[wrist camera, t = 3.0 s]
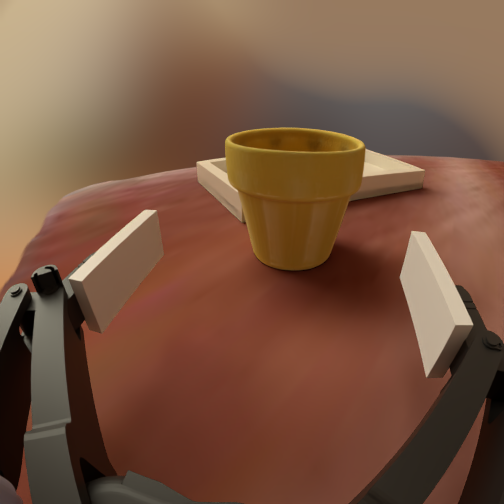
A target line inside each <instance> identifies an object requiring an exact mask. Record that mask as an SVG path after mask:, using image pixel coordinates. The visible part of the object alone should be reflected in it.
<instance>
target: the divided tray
mask: <svg viewBox="0 0 504 504" xmlns="http://www.w3.org/2000/svg"><path fill="white" fill-rule="evenodd" d="M197 175H198V182H199V183H200V184H201V185H202V186H203V187H204V188H205V189H207V190H208V191H209V192H210V193H211V194H212V195H213V196H214V197H215V198H216V199H217V200H218V201H219V202H221V203H222V204H223V205H224V206H225V207H226V208H227V209H228V210H229V211H230V212H231V213H232V214H233V215H234V216H236V217H237V218H238V219H239V220H240V221H241V222H242V223H243V222H246V220H245V216H244V212H243V209H242V205H241V201H240V198H239V194H238V190H237V189H235V188H234V187H233V186H232V185H231V184H230V183H229V180H228V175H227V167H226V158H220V159H213V160H206V161H200V162H197ZM424 175H425V170H423V169H420V168H418V167H415V166H413V165H410V164H407V163H405V162H402V161H399V160H396V159H394V158H391V157H388V156H385V155H382V154H379V153H376V152H373V151H370V150H367V149H365V162H364V171H363V177H362V183H361V187H360V189H359V190H358V191H357V192H356V193H355V194H353V195H351V197H350V200H349V201H353V200H358V199H363V198H369V197H374V196H380V195H386V194H391V193H397V192H403V191H409V190H415V189H421V188H422V187H423V181H424Z"/></svg>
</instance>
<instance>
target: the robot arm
mask: <svg viewBox="0 0 504 504" xmlns="http://www.w3.org/2000/svg"><path fill="white" fill-rule="evenodd" d="M163 255H164V251H163V246H162V240H161V234H160V228H159V222H158V215H157V210H144V211H143V212H142V213H140V214H139V215H138V216H137V217H136V218H134V219H133V220H132V221H131V222H130V223H129V224H127V225H126V226H125V227H124V228H123V229H122V230H120V231H119V232H118V233H117V234H116V235H115V236H114V237H112V238H111V239H110V240H109V241H108V242H107V243H106V244H105V245H104V246H102V247H101V248H100V249H99V250H98V251H96V252H95V253H93V254H91V255H89V256H88V257H87V258H86V259H85V260H84V261H83V263H81V264H80V265H78V268H75V269H74V270H73V271H72V272H71V273H70V274H69V275H68V276H67V277H66V278H65V279H64V280H63V281H62V280H61V277H60V274H59V272H58V269H57V267H56V266H55V265H46V266H43V267H41V268H39V269H37V270H36V271H35V272H34V273H33V274H32V276H31V279H32V281H33V284H34V286H35V288H36V291H37V292H31V293H30V291H29V289H28V286H27V285H26V284H24V283H20V284H16V285H15V286H12V287H11V288H10V289H9V290H8V291H7V292H6V294H5V296H4V298H3V300H2V301H1V303H0V504H23V501H22V499H21V498H20V497H19V496H18V495H16V490H17V486H18V482H19V478H20V473H21V465H22V457H23V448H24V450H25V459H26V468H27V475H28V481H29V487H30V493H31V498H32V503H33V504H242V503H237V502H195V501H192V500H190V499H188V498H186V497H184V496H183V495H181V494H179V493H177V492H176V491H174V490H172V489H171V488H169V487H167V486H166V485H164V484H162V483H161V482H158V481H155V480H153V479H150V478H147V477H144V476H142V475H139V474H137V473H134V472H131V471H129V470H128V472H127V474H126V476H117V474H116V472H115V470H114V468H113V467H112V465H111V463H110V462H109V459H108V457H107V454H106V450H105V446H104V443H103V439H102V435H101V431H100V427H99V423H98V418H97V414H96V409H95V404H94V399H93V394H92V389H91V383H90V377H89V371H88V365H87V358H86V350H85V342H84V333H83V329H82V327H81V324H82V323H83V321H84V320H85V321H86V323H87V325H88V328H89V330H92V331H95V332H99V333H103V332H104V331H105V329H106V328H107V327H108V325H109V324H110V323H111V321H112V320H113V319H114V317H115V316H116V315H117V313H118V312H119V311H120V309H121V308H122V307H123V305H124V304H125V303H126V302H127V300H128V299H129V298H130V296H131V295H132V294H133V293H134V291H135V290H136V289H137V287H138V286H139V285H140V284H141V282H142V281H143V280H144V279H145V277H146V276H147V275H148V274H149V272H150V271H151V270H152V269H153V267H154V266H155V265H156V264H157V263H158V261H159V260H160V259H161V258H162V256H163ZM400 280H401V283H402V286H403V290H404V293H405V296H406V299H407V303H408V306H409V310H410V313H411V317H412V320H413V324H414V328H415V332H416V335H417V339H418V343H419V347H420V352H421V356H422V360H423V365H424V369H425V374H426V378H441V377H444V375H445V374H446V372H447V370H448V369H449V367H450V371H451V375H452V376H451V377H450V379H449V380H448V382H447V383H446V385H445V386H444V388H443V389H442V390H441V392H440V395H439V396H438V398H437V399H436V401H435V402H434V404H433V405H432V407H431V408H430V410H429V411H428V412H427V414H426V415H425V417H424V418H423V419H422V421H421V422H420V424H419V425H418V426H417V428H416V429H415V430H414V432H413V433H412V434H411V436H410V437H409V438H408V439H407V441H406V442H405V443H404V444H403V446H402V447H401V448H400V449H399V451H398V452H397V453H396V454H395V455H394V456H393V458H392V459H391V460H390V461H389V462H388V463H387V465H386V466H385V467H384V468H383V469H382V470H381V471H380V472H379V473H378V475H377V476H376V477H375V478H374V479H373V480H372V481H371V482H370V483H369V484H368V485H367V486H366V487H365V488H364V489H363V490H362V491H361V492H360V493H359V494H358V495H357V496H356V497H355V498H354V499H353V500H352V501H351V502H350V503H349V504H423V503H424V501H425V500H426V499H427V497H428V496H429V495H430V493H431V492H432V490H433V489H434V488H435V486H436V485H437V483H438V482H439V480H440V479H441V477H442V476H443V475H444V473H445V471H446V470H447V468H448V467H449V465H450V464H451V462H452V460H453V459H454V457H455V456H456V454H457V452H458V451H459V449H460V447H461V445H462V444H463V442H464V440H465V438H466V436H467V435H468V433H469V431H470V429H471V427H472V425H473V423H474V421H475V419H476V417H477V415H478V413H479V411H480V409H481V407H482V405H483V403H484V400H485V398H487V399H486V405H485V411H484V416H483V421H482V426H481V430H480V435H479V439H478V443H477V447H476V451H475V454H474V458H473V461H472V465H471V468H470V471H469V474H468V477H467V481H466V483H465V486H464V489H463V492H462V495H461V497H460V500H459V503H458V504H504V344H503V341H502V340H501V339H500V337H499V336H498V335H496V334H495V333H493V332H491V331H488V330H487V329H486V327H485V325H484V323H483V321H482V319H481V316H480V314H479V312H478V310H476V306H475V304H474V303H473V300H472V298H471V296H470V295H469V293H468V292H467V291H466V290H465V289H464V288H463V287H462V286H459V285H454V283H453V281H452V279H451V277H450V275H449V273H448V272H447V270H446V268H445V266H444V264H443V262H442V260H441V259H440V257H439V255H438V253H437V252H436V250H435V248H434V246H433V245H432V243H431V241H430V240H429V238H428V236H427V235H426V233H425V232H417V231H412V232H411V236H410V240H409V244H408V248H407V252H406V256H405V260H404V264H403V267H402V271H401V274H400ZM19 326H20V327H21V329H22V331H23V332H22V334H21V335H20V332H19ZM30 404H31V407H32V425H33V426H32V430H31V431H27V432H26V426H27V420H28V415H29V409H30Z"/></svg>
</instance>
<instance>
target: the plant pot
mask: <svg viewBox="0 0 504 504" xmlns="http://www.w3.org/2000/svg"><path fill="white" fill-rule="evenodd" d="M225 153H226V167H227V175H228V180H229V183H230V184H231V185H232V186H233V187H234V188H235V189H237V190H238V194H239V198H240V201H241V205H242V209H243V212H244V216H245V220H246V224H247V228H248V232H249V235H250V239H251V243H252V247H253V251H254V254H255V256H256V257H257V258H258V259H259V260H260V261H261V262H262V263H264V264H266V265H268V266H270V267H273V268H277V269H282V270H291V271H298V270H306V269H311V268H314V267H316V266H318V265H320V264H322V263H323V262H325V261H326V260H327V259H328V257H329V255H330V253H331V250H332V248H333V245H334V242H335V240H336V237H337V234H338V232H339V229H340V226H341V223H342V220H343V217H344V215H345V212H346V209H347V206H348V203H349V200H350V197H351V195H353V194H355V193H356V192H357V191H358V190H359V189H360V187H361V183H362V177H363V171H364V162H365V145H364V143H363V142H361V141H360V140H358V139H356V138H353V137H351V136H347V135H344V134H340V133H335V132H330V131H324V130H316V129H305V128H266V129H256V130H249V131H243V132H239V133H236V134H233V135H231V136H229V137H228V138H227V139H226V141H225Z"/></svg>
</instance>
